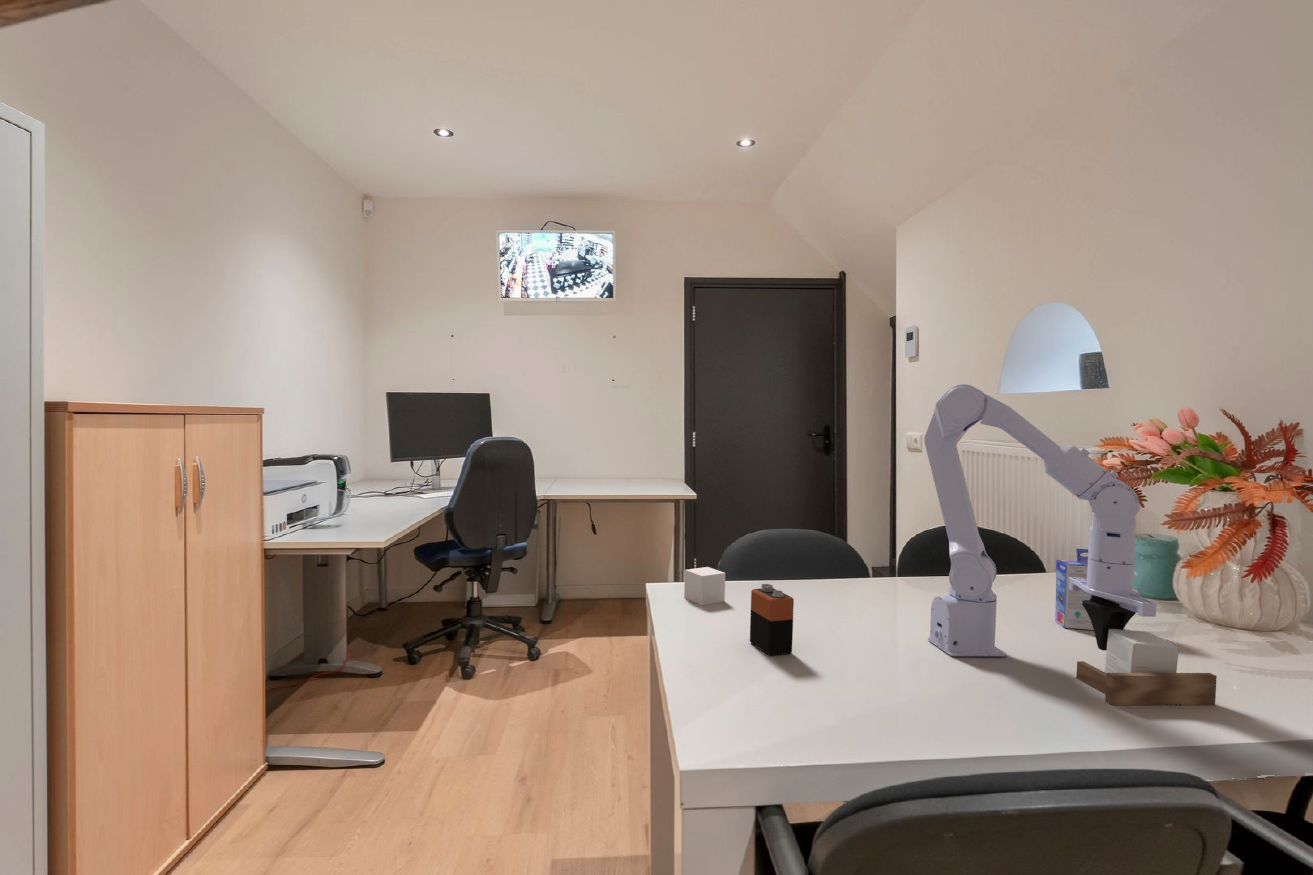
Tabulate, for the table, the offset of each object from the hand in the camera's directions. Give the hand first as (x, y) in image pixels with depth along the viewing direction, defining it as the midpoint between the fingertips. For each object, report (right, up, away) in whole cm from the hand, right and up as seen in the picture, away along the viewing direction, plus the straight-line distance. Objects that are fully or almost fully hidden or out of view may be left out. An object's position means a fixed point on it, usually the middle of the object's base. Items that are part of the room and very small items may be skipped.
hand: (1106, 649), depth 95 cm
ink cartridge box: (+13, -4, +24) cm, 28 cm away
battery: (-50, -3, +8) cm, 50 cm away
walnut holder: (0, -4, -5) cm, 6 cm away
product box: (+1, -4, -4) cm, 6 cm away
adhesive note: (-58, -2, +35) cm, 68 cm away
